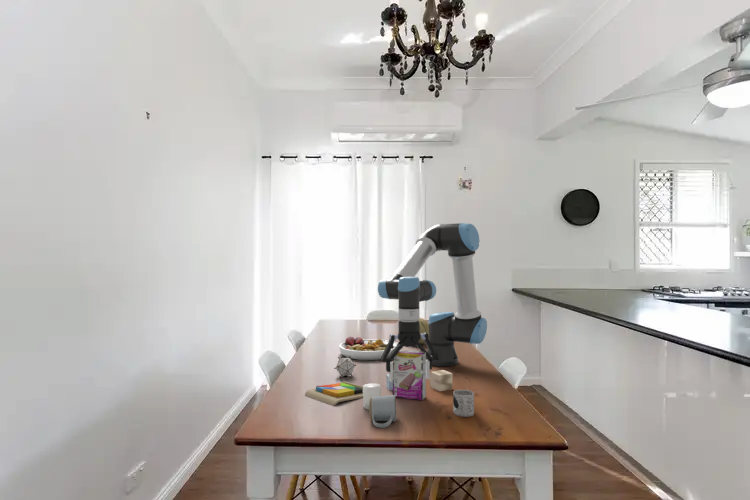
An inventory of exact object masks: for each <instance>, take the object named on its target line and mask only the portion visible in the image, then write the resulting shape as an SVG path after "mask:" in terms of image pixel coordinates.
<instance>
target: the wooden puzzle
mask: <svg viewBox="0 0 750 500" xmlns="http://www.w3.org/2000/svg"><path fill="white" fill-rule="evenodd" d="M304 395H305V397H308V398H310V399H312V400H316V401H319V402H321V403H325V404H327V405H329V406H334V407H335V406H336V405H337V404H338V403H342V402H348V401H351V400H356V399H361V398H362V399H363V385H359V384H355V383H351V382H348V381H345V380H344V381H342V382H337V383H331V384H324V385H323V384H322V385H317V386H315V388H312V389H308V390H306V391H305V392H304Z"/></svg>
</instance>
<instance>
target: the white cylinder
mask: <svg viewBox="0 0 750 500" xmlns="http://www.w3.org/2000/svg"><path fill="white" fill-rule="evenodd" d="M362 387H363V397H362V405H363V409H365V410H368V411H369V401H370V398H371V397H375V396H382V386H381V384H379V383H366V384H363V385H362Z"/></svg>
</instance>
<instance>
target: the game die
mask: <svg viewBox="0 0 750 500" xmlns="http://www.w3.org/2000/svg"><path fill="white" fill-rule="evenodd" d="M337 358H338V361H337V363H336V367H334V368H333V369H334V370H336V371H337V372H338V373H339V375H340V376H339V378H340V379H341V378H342V377H343V376H345V377H346V376H351V377H353V371H354V368H355V367H356V366H357V364H354V362H353V360H352V359H351V358H350V356H349V358H348V357H343V358H342V357H341V358H340V357H339V356H338V357H337Z"/></svg>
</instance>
